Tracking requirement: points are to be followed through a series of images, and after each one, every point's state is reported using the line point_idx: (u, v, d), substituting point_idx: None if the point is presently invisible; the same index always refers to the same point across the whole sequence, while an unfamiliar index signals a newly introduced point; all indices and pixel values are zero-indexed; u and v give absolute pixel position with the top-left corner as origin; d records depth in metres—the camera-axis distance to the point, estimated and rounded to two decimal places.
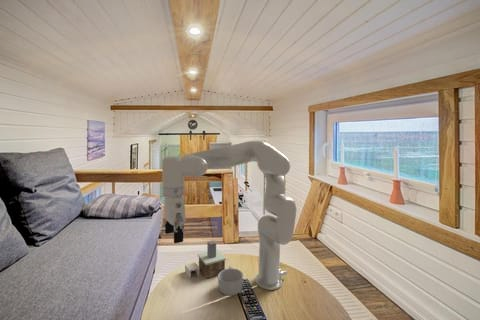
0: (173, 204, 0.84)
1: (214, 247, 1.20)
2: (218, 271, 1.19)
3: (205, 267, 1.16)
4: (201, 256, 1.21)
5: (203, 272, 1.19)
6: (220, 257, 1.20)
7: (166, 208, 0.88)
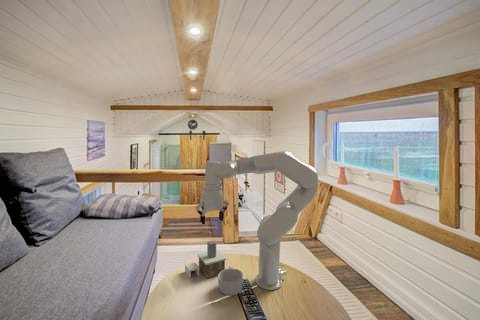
0: (222, 194, 1.19)
1: (214, 247, 1.20)
2: (218, 271, 1.19)
3: (205, 267, 1.16)
4: (201, 256, 1.21)
5: (203, 272, 1.19)
6: (220, 257, 1.20)
7: (214, 200, 1.16)
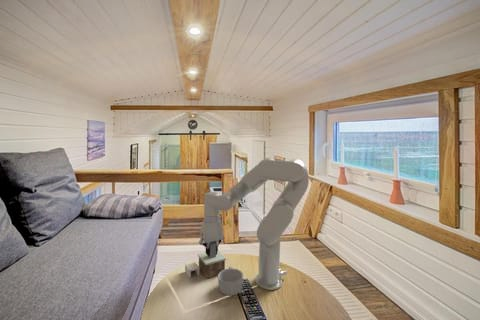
0: (221, 224, 1.21)
1: (214, 247, 1.20)
2: (218, 271, 1.19)
3: (205, 267, 1.16)
4: (201, 256, 1.21)
5: (203, 272, 1.19)
6: (220, 257, 1.20)
7: (213, 231, 1.18)
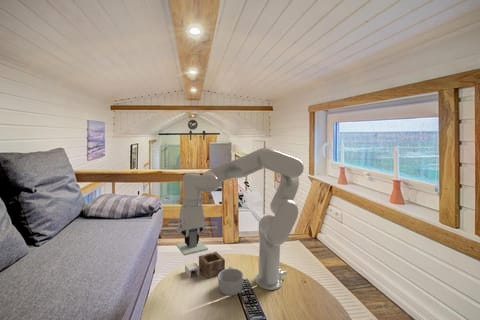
0: None
1: (194, 235, 1.05)
2: (218, 271, 1.19)
3: (205, 267, 1.16)
4: (180, 246, 1.06)
5: (203, 272, 1.19)
6: (201, 247, 1.06)
7: (193, 217, 1.03)
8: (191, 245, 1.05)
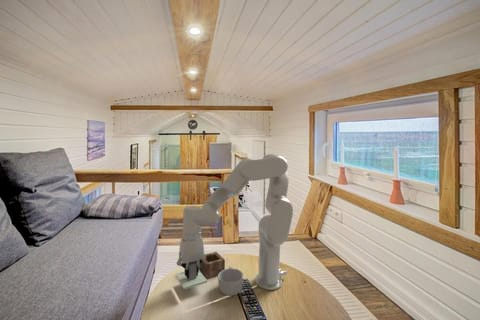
0: None
1: (194, 268, 1.07)
2: (218, 271, 1.19)
3: (205, 267, 1.16)
4: (179, 278, 1.08)
5: (203, 272, 1.19)
6: (201, 279, 1.07)
7: (192, 251, 1.05)
8: (191, 277, 1.06)
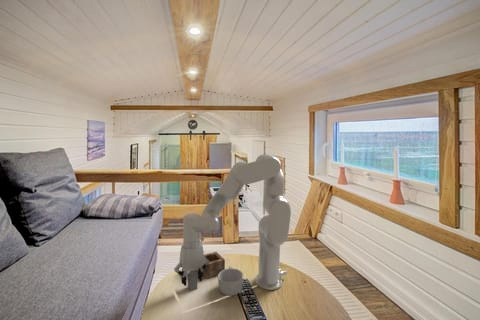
0: None
1: (195, 279, 1.07)
2: (218, 271, 1.19)
3: None
4: None
5: (203, 272, 1.19)
6: None
7: (193, 258, 1.05)
8: (192, 289, 1.07)
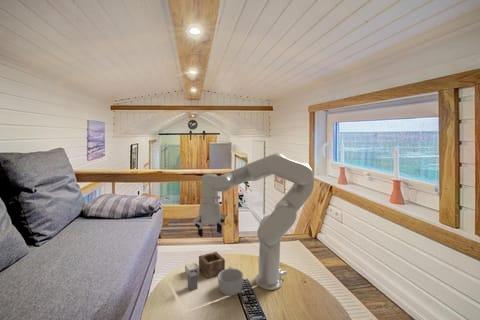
0: (219, 206, 1.19)
1: (195, 279, 1.07)
2: (218, 271, 1.19)
3: (205, 267, 1.16)
4: None
5: (203, 272, 1.19)
6: None
7: (211, 213, 1.16)
8: (192, 289, 1.07)
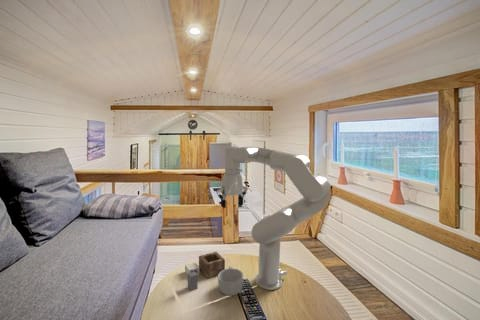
0: (241, 178, 1.22)
1: (195, 279, 1.07)
2: (218, 271, 1.19)
3: (205, 267, 1.16)
4: None
5: (203, 272, 1.19)
6: None
7: (234, 185, 1.19)
8: (192, 289, 1.07)
